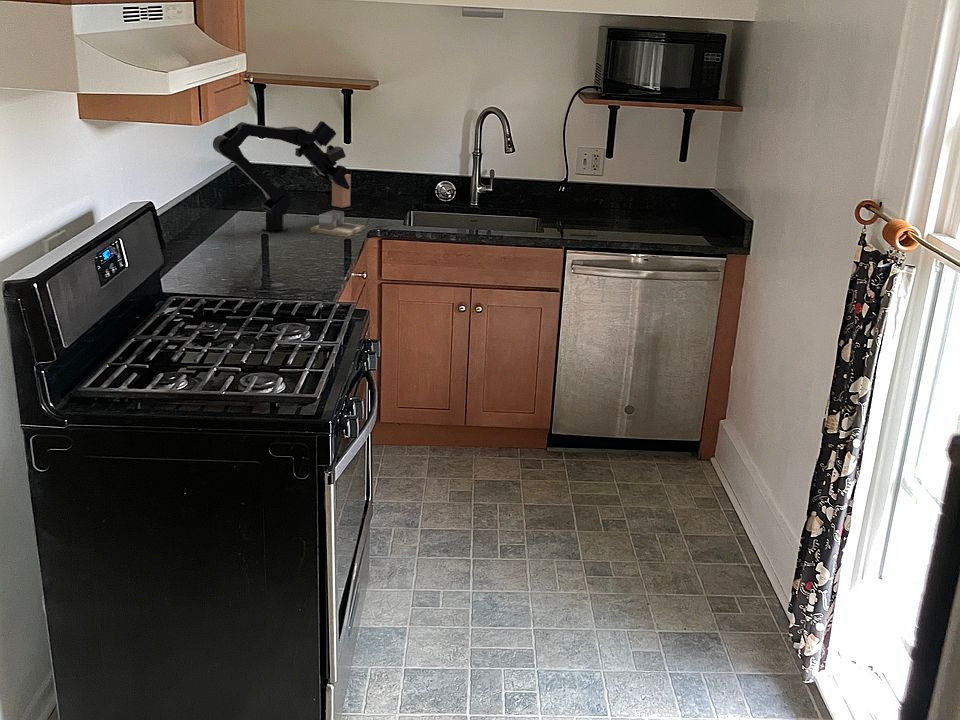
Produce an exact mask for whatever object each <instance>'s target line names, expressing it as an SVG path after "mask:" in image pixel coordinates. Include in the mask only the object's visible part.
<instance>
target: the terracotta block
mask: <svg viewBox="0 0 960 720" xmlns="http://www.w3.org/2000/svg"><path fill="white" fill-rule="evenodd" d="M351 177H352V175H351V174H350V173H347V174H346V175H345V178H346V181H347V183H348V185H349V186H350V188H349V189H345V188H343V187H341V186H339V185H337V184H335V183H332V182H331V206H333V207H337V208H346V207H350V206H351V189H352V188H351V186H352V185H351V183H352V182H351V181H352V179H351Z"/></svg>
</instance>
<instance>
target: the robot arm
mask: <svg viewBox="0 0 960 720" xmlns="http://www.w3.org/2000/svg"><path fill="white" fill-rule="evenodd" d="M336 136H337V132H336V131H335V130H334V129H333V127H330V126H329V125H328V124H327V123H326V122H325V121H322V120H320V121H319V122H318V124H317V126H316V127H314V129H313V130H312V131H309V130H305V129H302V128H301V127H297V126H284V127H275V126H269V125H267V126H266V125H262V124H261V125H259V124H253V123H247V122H239V123H238V124H236V125H235V126H234V127H232V128H230V129H229V130H227V131H224V133H223V134H221V135H217V136H216V137H214V139H213V141H212V147H213V149H214V150H215V152H216V153H219V154H220V155H221V156H222V157H224V158H226V159H227V160H229V161H230V162H232V163H234V165H235V166H236V167H238V169H239V170H241V172H243V173H244V175H246V177H248V178H249V179H250V181H252V182H253V183H254V184H255V185H256V187H258V188H259V189H260V190H261V191H262V193H263V195H264V197H265V198H266V200H265V201H264V202H262V204H261V207H262V209H263V211H265V227H264V228H262V229H261V231H263V232H269V233H277V234H279V233H281V232H285V231H287V230H288V228H287V227H285V223H284V222H285V221H284V216H286V214H287V211H288V209H289V207H290V206H291V203H292V198H291V196H290V194H291V193H290V192H288V191H287V190H286V189H285V188H284V186H283V185H282V184H280V183H277V182H275V181H274V183H272V182H271V181H270V180H269V179H268V178H267V177H266V176H265V175H264V174H263V173H262V172H261V171H260V170H259V169H257V167H256V166H255V165H254V164H253V163H252V162H251V161H250V160H249V159H247V157H246V156H244V154H243V152H242V150H241V148H240V146H241V145H242V144H243V142H244V141H245V140H246V139H247V138H248V137H255V138H263V139H271V140H280V141H283V142H286V143H289V144H292V145H294V146H297V147H296V148H295V151H294V152H295V153H294V155H295V156H296V157H297V158H301V157H302V156H303V157H304V158H305V159H307V161H308V162H309V165H311V166H312V167H311V172H312V173H313V174H314V175H315V176H317V177H320V178H321V179H322V180H326V181H327V182H330V183H331V184H332V183H335V184H337V185H339V186H341V187H343V188H345V189H349V188H350V186H349V185H348V183H347V181H346V178H345V175H346V174H349V169H347V168H346V167H345V166H344V165H341V164H338V163H337V162H338V161H339V160H341V159H345V158H346V153H345V151H344V148H343V147H341V146H336V145H335V146H333V145H332V144H330V142H331V141H332V140H333V139H334V138H335V137H336ZM323 146H324V147H326V150H325V151H326V152H324V151H323V150H322V148H320V147H323Z"/></svg>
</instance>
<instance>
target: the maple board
mask: <svg viewBox="0 0 960 720" xmlns="http://www.w3.org/2000/svg"><path fill="white" fill-rule="evenodd" d="M344 220H345V212H344V211H342V210H337V209H336V210H335V209H331V210H329V211H326V212H323V213H321V214H318V225H314V226H312V227H310V232H311V233H312V232H313V233H318V234H325V235H331V236H339V237H346V238H347V237H351V236H352V235H355V234H356V233H360V232H362V231H365V230H366V225H363V224H357V223H356V224H355V223H349V222H345V221H344Z"/></svg>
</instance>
